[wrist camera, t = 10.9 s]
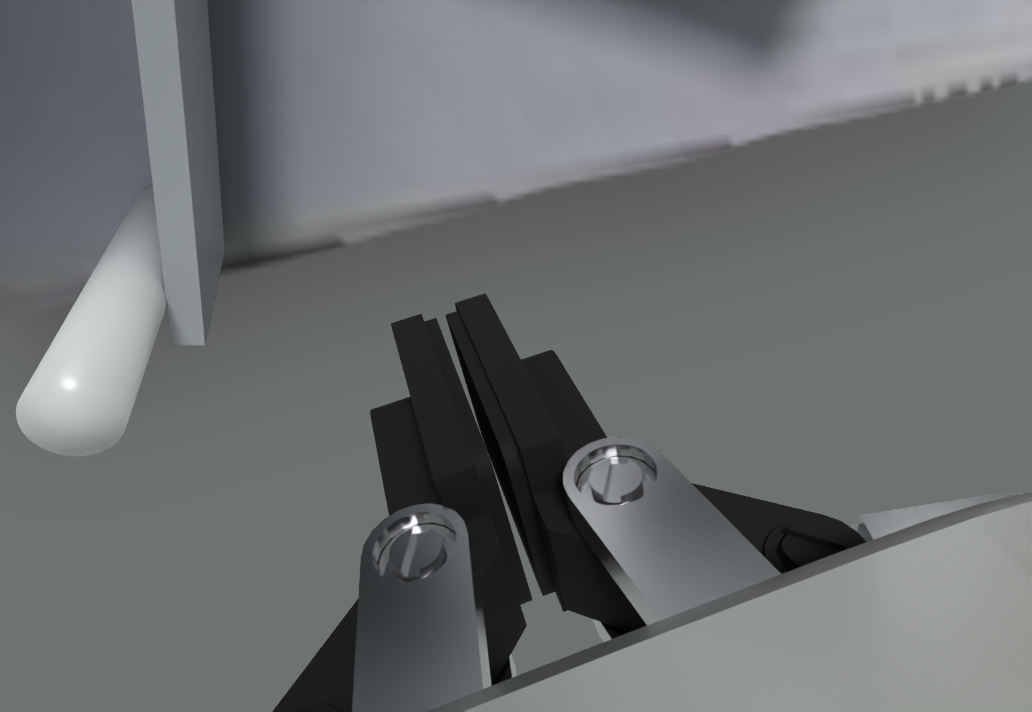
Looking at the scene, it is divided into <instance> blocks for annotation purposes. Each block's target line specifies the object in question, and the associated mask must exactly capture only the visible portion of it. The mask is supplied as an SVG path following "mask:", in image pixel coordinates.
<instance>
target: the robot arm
mask: <svg viewBox="0 0 1032 712" xmlns="http://www.w3.org/2000/svg"><path fill="white" fill-rule="evenodd" d="M455 306H456V310H457V311H456V312H453V313H450V314H447V315H446V318H447V322H448V325H449V329H450V332H451V335H452V338H453V342H454V345H455V348H456V352H457V355H458V358H459V362H460V365H461V368H462V372H463V375H464V378H465V382H466V385H467V388H468V392H469V395H470V398H471V402H472V405H473V408H474V411H475V415H476V418H477V421H478V425H479V428H480V431H481V434H482V437H481V434H480V432H479V429H478V426H477V424H476V421H475V418H474V416H473V413H472V410H471V408H470V405H469V403H468V400H467V397H466V395H465V392H464V389H463V387H462V384H461V382H460V379H459V376H458V374H457V371H456V369H455V366H454V364H453V361H452V358H451V355H450V353H449V350H448V348H447V345H446V343H445V340H444V337H443V335H442V332H441V329H440V327H439V324H438V322H437V319H436V318H434V319H431V320H428V321H425V322H424V320H423V317H422V314H419V315H416V316H413V317H410V318H407V319H404V320H400V321H397V322H394V323H391V327H392V330H393V334H394V338H395V341H396V345H397V348H398V352H399V355H400V360H401V363H402V367H403V371H404V374H405V378H406V382H407V385H408V389H409V393H410V396H411V397H408V398H405V399H402V400H399V401H396V402H393V403H390V404H387V405H384V406H381V407H378V408H375V409H372V410H371V411H370V414H371V421H372V426H373V431H374V437H375V442H376V447H377V452H378V458H379V464H380V469H381V474H382V480H383V485H384V491H385V496H386V501H387V507H388V512H389V517H387V518H385V519H384V520H383V521H382V522H381V523H380V524H379V525H378V526H377V527H376V528H375V529H374V530H373V531H372V532H371V534H370V535H369V537H368V539H367V540H366V542H365V544H364V547H363V551H362V555H361V566H360V581H359V598H358V600H357V601H356V602H355V604H354V605H353V606H352V608H351V609H350V610H349V612H348V613H347V614H346V616H345V617H344V618H343V620H342V621H341V622H340V623H339V625H338V626H337V627H336V629H335V630H334V631H333V633H332V634H331V635H330V637H329V638H328V639H327V641H326V642H325V643H324V645H323V646H322V647H321V648H320V650H319V651H318V653H317V654H316V655H315V656H314V658H313V659H312V660H311V662H310V663H309V665H308V666H307V667H306V668H305V670H304V671H303V672H302V674H301V675H300V676H299V677H298V679H297V680H296V681H295V683H294V684H293V685H292V687H291V688H290V689H289V691H288V692H287V693H286V695H285V696H284V697H283V699H282V700H281V701H280V702H279V704H278V705H277V706H276V708H275V709H274V710H273V712H1032V492H1027V493H1024V494H992V495H986V496H979V497H973V498H966V499H960V500H954V501H947V502H941V503H935V504H928V505H922V506H915V507H909V508H902V509H896V510H890V511H884V512H877V513H871V514H864V515H860V517H859V518H860V519H859V524H853V525H846V524H845V523H843V522H842V521H839V520H836V519H834V518H830V517H828V516H825V515H822V514H818V513H814V512H809V511H805V510H801V509H796V508H792V507H788V506H784V505H780V504H776V503H772V502H768V501H764V500H759V499H755V498H751V497H747V496H743V495H739V494H734V493H730V492H725V491H722V490H717V489H713V488H709V487H705V486H701V485H697V484H693V483H691V482H690V481H689V480H688V479H687V478H686V477H685V476H684V475H683V474H682V473H681V472H680V471H679V470H678V469H677V468H676V467H675V466H674V465H673V464H672V463H671V462H670V461H669V460H668V459H667V458H666V457H665V456H664V455H663V454H662V453H661V452H660V451H659V450H657V449H656V448H655V447H653V446H652V445H651V444H649V443H647V442H644V441H641V440H639V439H636V438H628V437H611V438H607V437H606V435H605V433H604V432H603V430H602V428H601V427H600V425H599V423H598V422H597V420H596V419H595V417H594V415H593V414H592V412H591V410H590V409H589V407H588V405H587V404H586V402H585V401H584V399H583V397H582V396H581V394H580V392H579V391H578V389H577V388H576V386H575V384H574V383H573V381H572V379H571V378H570V376H569V375H568V373H567V371H566V370H565V368H564V366H563V365H562V363H561V361H560V360H559V358H558V356H557V355H556V354H555V352H554V351H552V350H549V351H546V352H543V353H540V354H537V355H534V356H531V357H528V358H525V359H522V360H521V359H520V357H519V356H518V354H517V352H516V350H515V348H514V346H513V344H512V342H511V341H510V339H509V337H508V335H507V333H506V331H505V329H504V328H503V325H502V324H501V321H500V320H499V318H498V316H497V314H496V312H495V310H494V308H493V306H492V305H491V303H490V301H489V299H488V297H487V295H486V294H482V295H478V296H475V297H472V298H469V299H466V300H463V301H460V302H457V303H455ZM482 438H483V439H482ZM483 441H484V442H483ZM484 443H485V444H484ZM485 446H486V447H485ZM486 449H487V450H486ZM487 452H488V453H487ZM488 454H489V455H488ZM489 457H490V458H489ZM490 460H491V461H490ZM491 462H492V464H491ZM492 465H493V467H494V470H495V473H496V475H497V478H498V480H499V483H500V486H501V488H502V491H503V494H504V496H505V499H506V501H507V504H508V506H509V509H510V512H511V514H512V517H513V519H514V522H515V525H516V527H517V530H518V533H519V535H520V538H521V541H522V543H523V546H524V548H525V551H526V554H527V556H528V559H529V561H530V564H531V567H532V569H533V572H534V575H535V577H536V580H537V582H538V585H539V588H540V590H541V593H542V595H543V596H544V595H547V594H550V593H553V592H556V595H557V597H558V600H559V602H560V605H561V607H562V610H563V611H567V610H569V611H572V612H575V613H578V614H581V615H583V616H586V617H589V618H592V619H593V620H594V624H595V626H596V629H597V631H598V633H599V635H600V637H601V638H602V640H603V643H601V644H598V645H596V646H593V647H590V648H588V649H585V650H583V651H580V652H578V653H575V654H572V655H570V656H568V657H565V658H562V659H560V660H557V661H554V662H552V663H549V664H547V665H544V666H541V667H539V668H537V669H534V670H531V671H529V672H526V673H523V674H521V675H518V676H517V675H516V668H515V664H514V661H513V658H512V655H511V653H512V651H513V649H514V647H515V646H516V644H517V642H518V640H519V638H520V637H521V635H522V633H523V631H524V629H525V628H526V626H527V625H526V622H525V619H524V616H523V612H522V609H521V606H520V605H521V604H523V603H526V602H529V601H531V600H532V597H531V593H530V590H529V587H528V583H527V580H526V577H525V573H524V570H523V567H522V563H521V560H520V557H519V553H518V550H517V547H516V543H515V540H514V536H513V533H512V530H511V527H510V523H509V520H508V516H507V513H506V510H505V507H504V504H503V500H502V496H501V493H500V490H499V486H498V483H497V480H496V477H495V473H494V470H493V467H492Z"/></svg>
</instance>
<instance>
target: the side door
mask: <svg viewBox="0 0 1032 712" xmlns="http://www.w3.org/2000/svg"><path fill="white" fill-rule="evenodd" d="M131 2H132V10H133V19H134V27H135V36H136V45H137V53H138V62H139V71H140V79H141V88H142V97H143V105H144V114H145V123H146V131H147V140H148V149H149V157H150V166H151V175H152V183H153V185H150V186H148V187H146V188H144V189H143V190H142V191H141V192H140V193H139V194H138V195H137V197H136V199H135V200H134V202H133V204H132V206H131V207H130V209H129V211H128V212H127V214H126V216H125V218H124V219H123V221H122V223H121V225H120V226H119V228H118V230H117V231H116V233H115V235H114V237H113V238H112V240H111V242H110V243H109V245H108V247H107V249H106V250H105V252H104V254H103V256H102V257H101V259H100V261H99V262H98V264H97V266H96V268H95V269H94V271H93V273H92V275H91V276H90V278H89V280H88V281H87V283H86V285H85V287H84V288H83V290H82V292H81V293H80V295H79V297H78V299H77V300H76V302H75V304H74V306H73V307H72V309H71V311H70V312H69V314H68V316H67V318H66V320H65V321H64V323H63V325H62V326H61V328H60V330H59V332H58V333H57V335H56V337H55V339H54V340H53V342H52V344H51V346H50V347H49V349H48V350H47V352H46V354H45V356H44V358H43V359H42V361H41V363H40V364H39V366H38V368H37V369H36V371H35V373H34V375H33V376H32V378H31V380H30V381H29V383H28V385H27V387H26V389H25V390H24V392H23V394H22V395H21V397H20V399H19V401H18V403H17V407H16V418H17V422H18V425H19V427H20V429H21V431H22V432H23V433H24V435H25V436H26V437H27V438H28V439H29V440H30V441H32V442H33V443H34V444H36V445H37V446H39V447H41V448H43V449H45V450H47V451H49V452H52V453H55V454H59V455H65V456H75V457H76V456H78V457H81V456H89V455H94V454H97V453H100V452H103V451H105V450H107V449H109V448H111V447H112V446H113V445H115V444H116V443H117V442H118V441H119V440H120V438H121V437H122V435H123V434H124V432H125V429H126V426H127V423H128V420H129V417H130V414H131V411H132V408H133V405H134V402H135V399H136V396H137V393H138V390H139V387H140V384H141V381H142V378H143V375H144V372H145V369H146V366H147V363H148V360H149V357H150V354H151V351H152V348H153V345H154V342H155V339H156V336H157V333H158V330H159V327H160V324H161V321H162V318H163V315H164V312H165V309H166V306H167V313H168V321H169V330H170V339H171V346H184V345H185V346H186V345H187V346H190V345H205V342H206V338H207V333H208V328H209V324H210V319H211V314H212V309H213V305H214V300H215V295H216V290H217V286H218V281H219V276H220V271H221V267H222V262H223V257H224V252H225V246H224V231H223V217H222V202H221V188H220V174H219V159H218V145H217V131H216V116H215V102H214V88H213V73H212V59H211V45H210V30H209V16H208V2H207V0H131Z"/></svg>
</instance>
